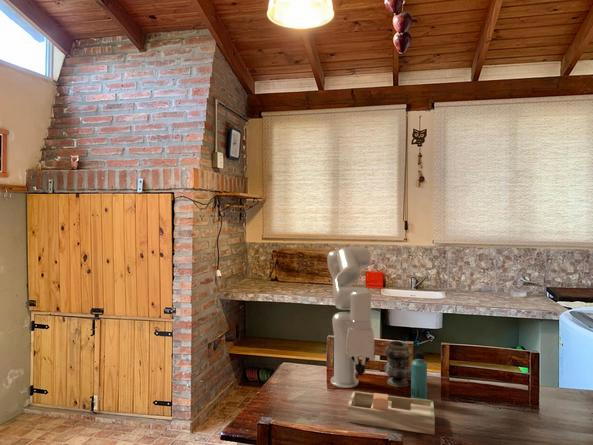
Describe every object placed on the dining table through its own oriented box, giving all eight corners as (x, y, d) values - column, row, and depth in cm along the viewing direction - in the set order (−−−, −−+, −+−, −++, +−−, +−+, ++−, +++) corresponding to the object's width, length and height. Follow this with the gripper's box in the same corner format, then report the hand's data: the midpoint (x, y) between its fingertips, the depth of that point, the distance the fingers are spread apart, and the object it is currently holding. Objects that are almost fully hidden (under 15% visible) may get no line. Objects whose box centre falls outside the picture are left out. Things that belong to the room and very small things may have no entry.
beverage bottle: (427, 399, 166) (427, 350, 166) (427, 406, 160) (427, 355, 160) (411, 397, 168) (411, 348, 168) (409, 403, 162) (410, 353, 162)
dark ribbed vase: (414, 388, 177) (415, 347, 177) (387, 388, 177) (387, 347, 177) (407, 377, 189) (408, 339, 189) (381, 377, 189) (382, 338, 189)
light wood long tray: (353, 404, 161) (353, 390, 160) (433, 415, 152) (433, 400, 152) (347, 421, 147) (347, 405, 147) (434, 434, 139) (434, 417, 139)
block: (374, 406, 151) (374, 392, 151) (388, 408, 149) (388, 394, 149) (372, 412, 146) (373, 398, 146) (387, 414, 145) (387, 400, 145)
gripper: (338, 325, 148) (338, 375, 148) (380, 328, 144) (380, 380, 143) (342, 320, 155) (342, 369, 155) (382, 323, 151) (381, 373, 151)
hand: (360, 374), depth 149 cm, fingers closed
